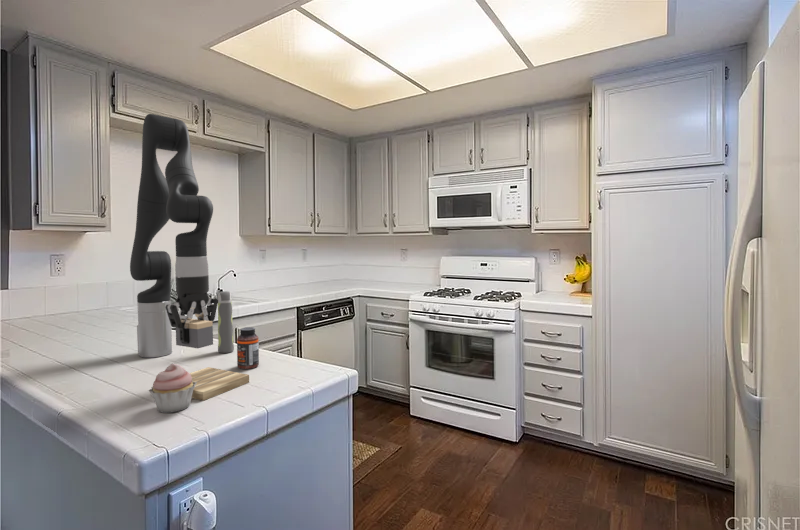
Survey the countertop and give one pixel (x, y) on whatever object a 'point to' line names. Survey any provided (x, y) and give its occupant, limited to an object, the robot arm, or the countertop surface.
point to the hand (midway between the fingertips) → (194, 340)
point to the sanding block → (197, 334)
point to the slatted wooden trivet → (215, 382)
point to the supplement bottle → (247, 349)
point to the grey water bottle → (225, 323)
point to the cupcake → (172, 389)
